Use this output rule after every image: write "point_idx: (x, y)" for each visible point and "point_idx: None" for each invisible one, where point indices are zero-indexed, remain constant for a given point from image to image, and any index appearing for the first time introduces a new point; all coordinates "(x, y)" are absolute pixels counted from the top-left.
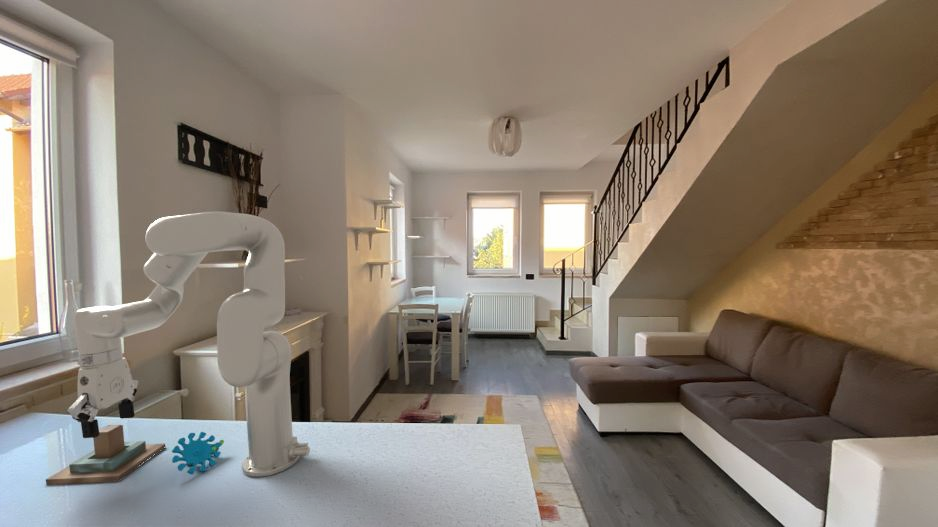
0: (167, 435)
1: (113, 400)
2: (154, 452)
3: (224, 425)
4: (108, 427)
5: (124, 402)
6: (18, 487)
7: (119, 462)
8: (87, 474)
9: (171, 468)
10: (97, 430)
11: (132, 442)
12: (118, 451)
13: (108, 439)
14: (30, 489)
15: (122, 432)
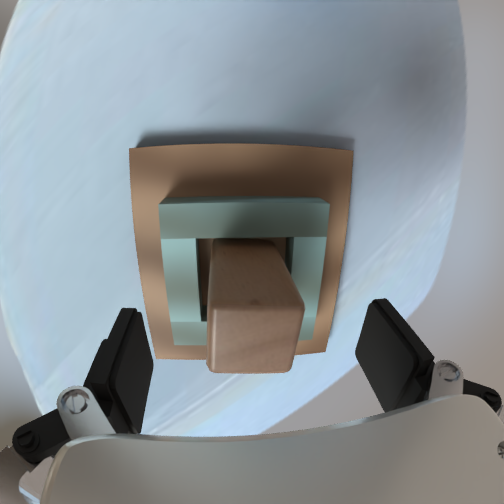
0: (56, 220)
1: (384, 450)
2: (187, 144)
3: (12, 70)
4: (247, 347)
5: (120, 420)
6: (317, 383)
7: (293, 198)
8: (326, 264)
9: (287, 26)
10: (393, 316)
11: (169, 252)
12: (244, 248)
13: (294, 286)
14: (333, 356)
15: (218, 280)
